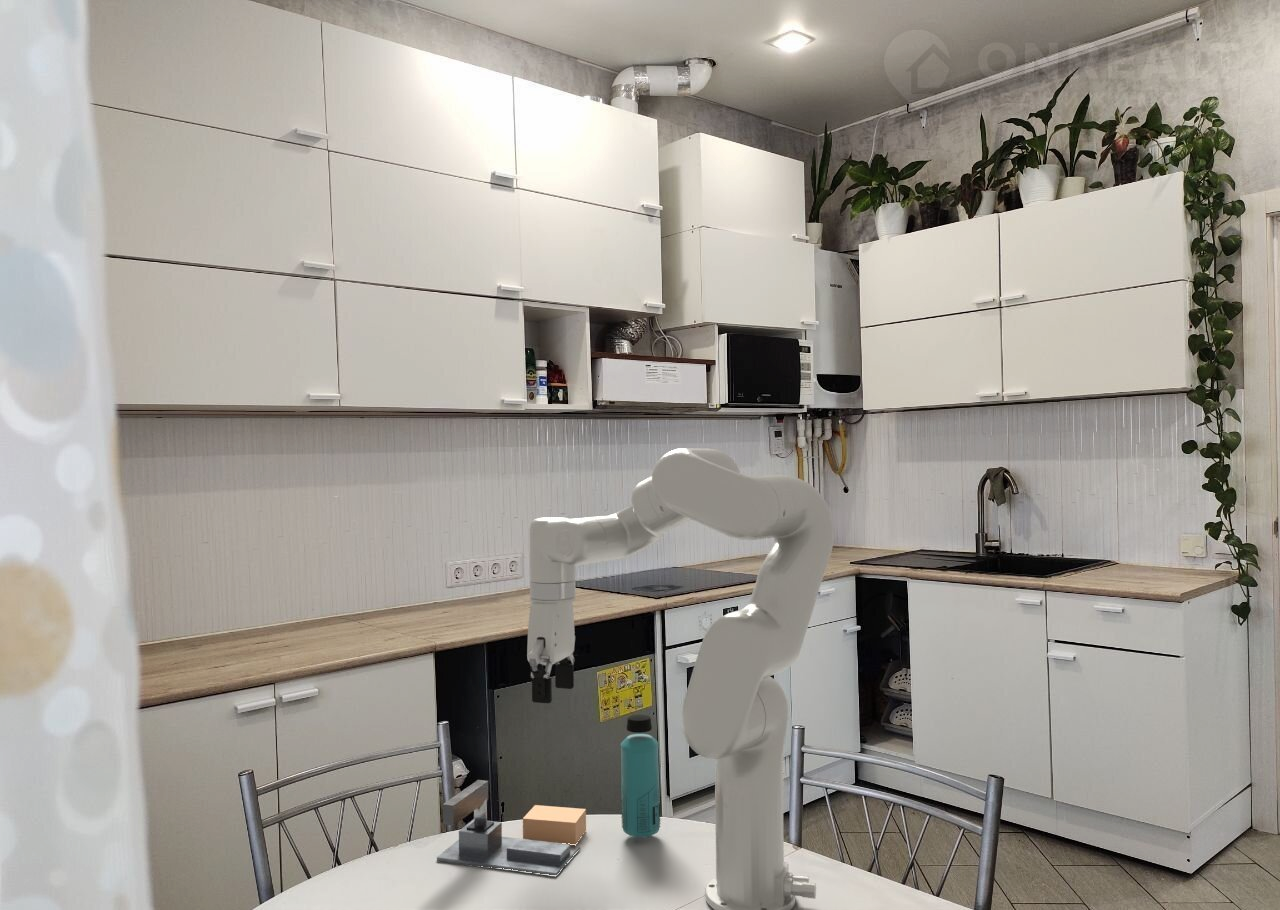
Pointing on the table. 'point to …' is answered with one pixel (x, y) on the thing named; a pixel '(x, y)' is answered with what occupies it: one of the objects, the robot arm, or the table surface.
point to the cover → (554, 824)
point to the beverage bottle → (640, 779)
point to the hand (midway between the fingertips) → (553, 695)
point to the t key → (468, 805)
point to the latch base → (506, 851)
